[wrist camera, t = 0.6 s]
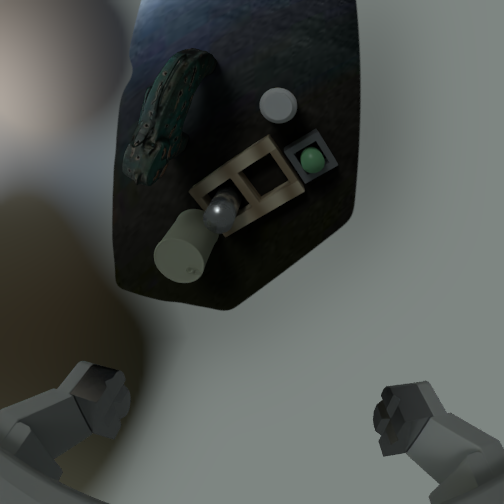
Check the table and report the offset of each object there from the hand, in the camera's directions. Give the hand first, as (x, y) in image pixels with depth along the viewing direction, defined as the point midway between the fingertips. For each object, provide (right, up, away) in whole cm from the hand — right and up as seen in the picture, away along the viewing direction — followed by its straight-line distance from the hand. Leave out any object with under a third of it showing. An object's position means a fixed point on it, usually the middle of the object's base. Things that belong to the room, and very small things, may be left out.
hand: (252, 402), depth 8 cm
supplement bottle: (+5, +29, +35) cm, 46 cm away
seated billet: (-4, +15, +45) cm, 48 cm away
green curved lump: (-11, +30, +37) cm, 49 cm away
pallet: (-1, +16, +44) cm, 47 cm away
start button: (+9, +20, +37) cm, 43 cm away
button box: (+10, +21, +39) cm, 45 cm away
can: (-11, +9, +50) cm, 52 cm away
